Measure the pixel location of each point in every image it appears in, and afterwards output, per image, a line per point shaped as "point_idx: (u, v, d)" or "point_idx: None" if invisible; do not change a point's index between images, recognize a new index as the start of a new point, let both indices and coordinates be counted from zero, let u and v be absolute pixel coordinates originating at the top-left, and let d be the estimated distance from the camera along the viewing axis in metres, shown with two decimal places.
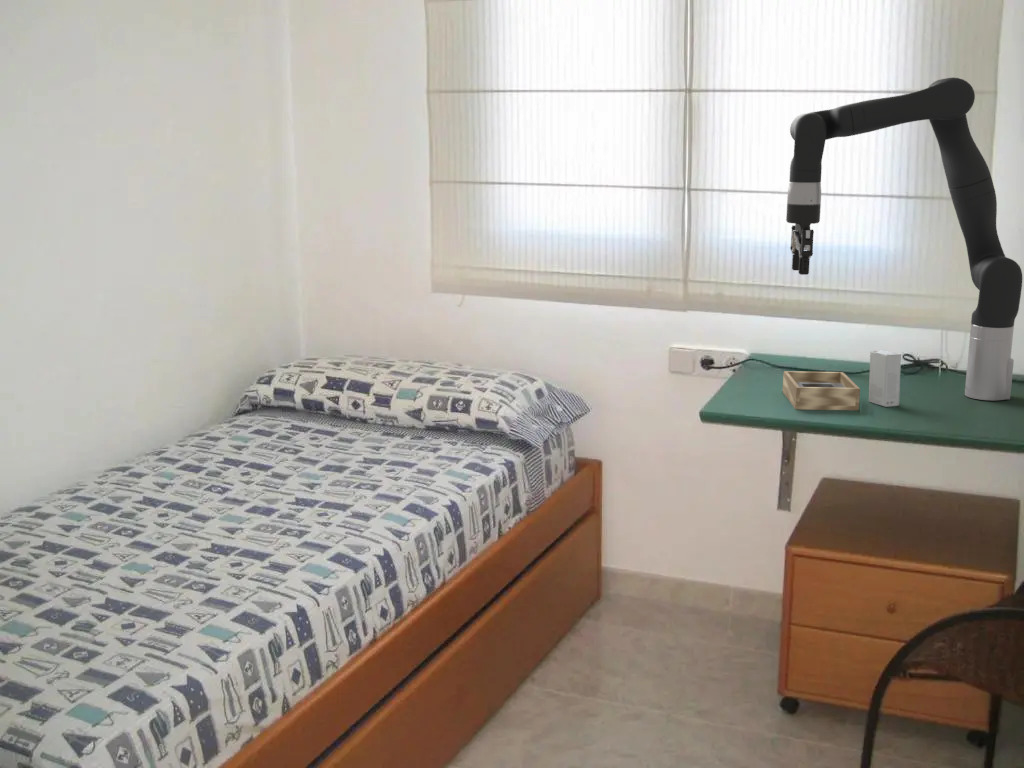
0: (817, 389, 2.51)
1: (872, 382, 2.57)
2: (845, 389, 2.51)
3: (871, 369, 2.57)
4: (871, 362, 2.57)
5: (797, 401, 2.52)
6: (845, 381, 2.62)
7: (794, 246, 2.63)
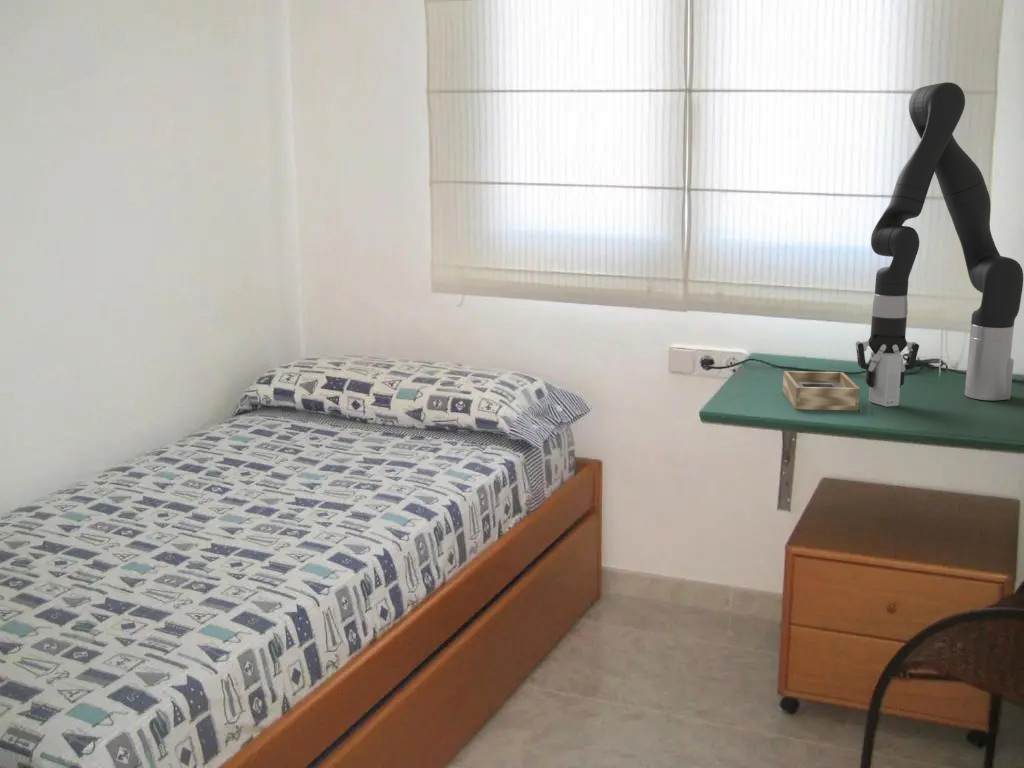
0: (817, 389, 2.51)
1: None
2: (845, 389, 2.51)
3: None
4: None
5: (797, 401, 2.52)
6: (845, 381, 2.62)
7: None
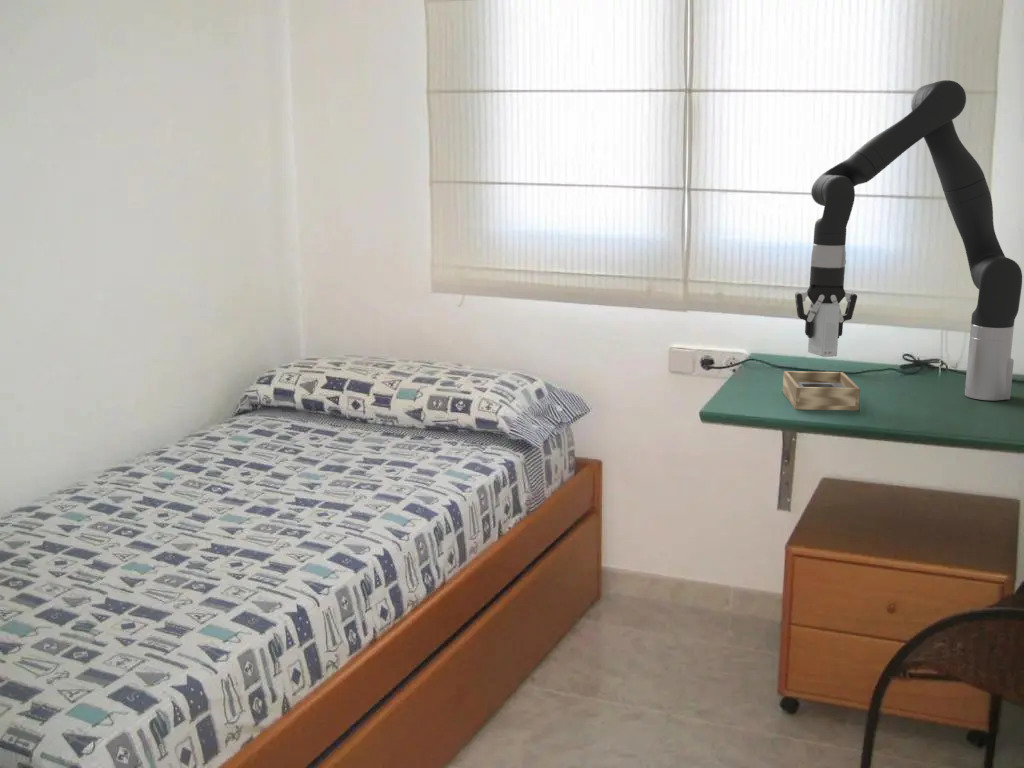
0: (817, 389, 2.51)
1: None
2: (845, 389, 2.51)
3: None
4: None
5: (797, 401, 2.52)
6: (845, 381, 2.62)
7: None
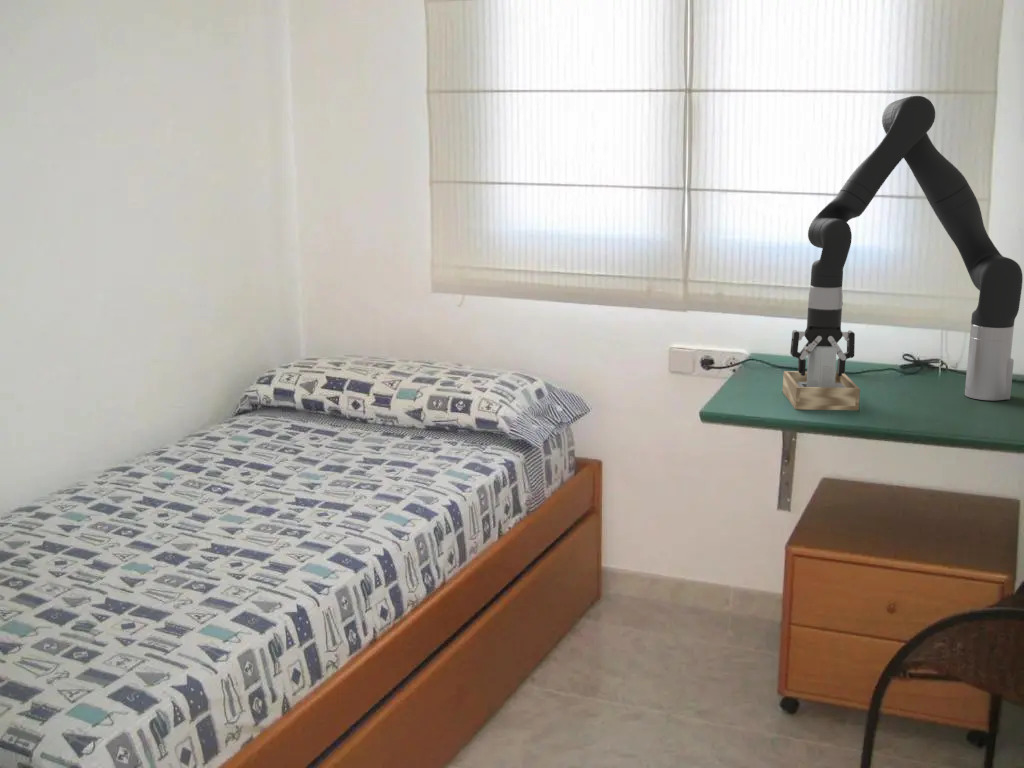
0: (817, 389, 2.51)
1: (809, 374, 2.60)
2: (845, 389, 2.51)
3: (809, 362, 2.60)
4: (808, 355, 2.60)
5: (797, 401, 2.52)
6: (845, 381, 2.62)
7: None
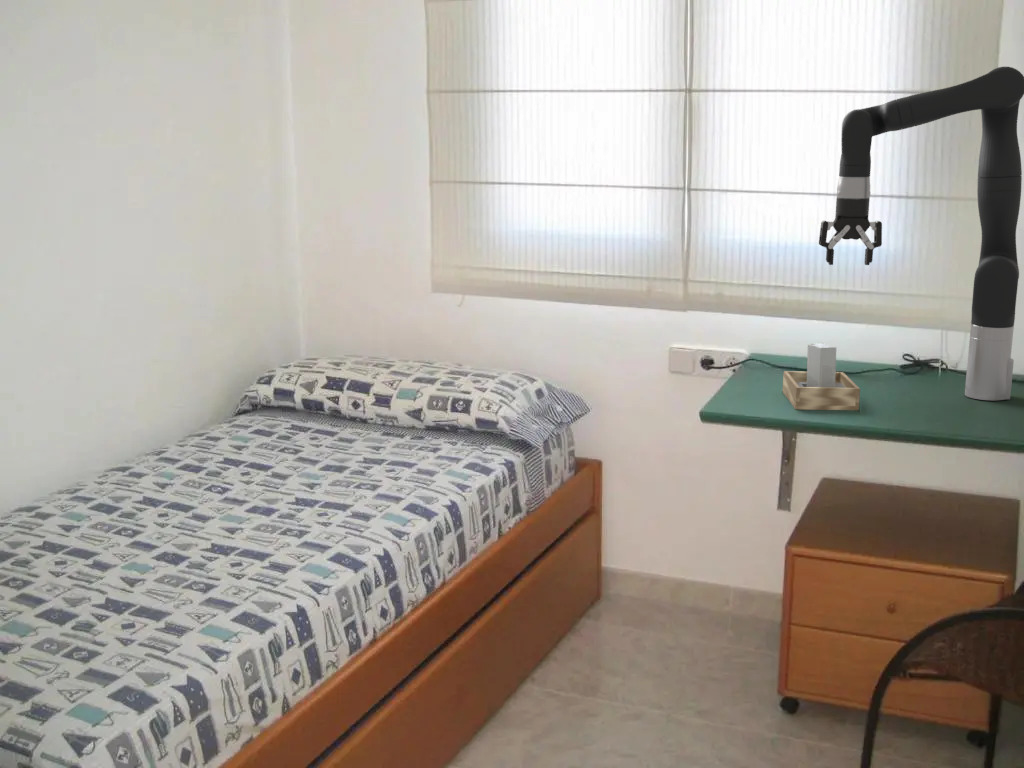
0: (817, 389, 2.51)
1: (809, 374, 2.60)
2: (845, 389, 2.51)
3: (809, 362, 2.60)
4: (808, 355, 2.60)
5: (797, 401, 2.52)
6: (845, 381, 2.62)
7: None
